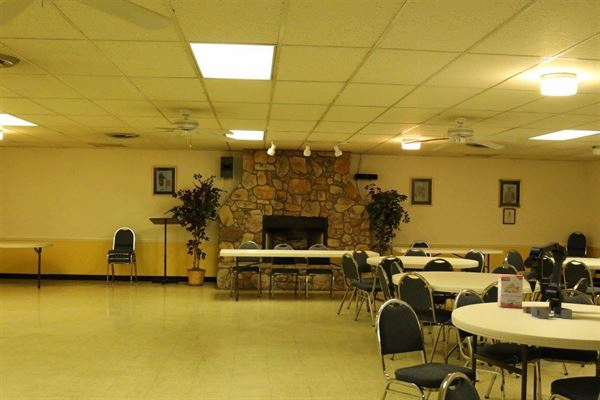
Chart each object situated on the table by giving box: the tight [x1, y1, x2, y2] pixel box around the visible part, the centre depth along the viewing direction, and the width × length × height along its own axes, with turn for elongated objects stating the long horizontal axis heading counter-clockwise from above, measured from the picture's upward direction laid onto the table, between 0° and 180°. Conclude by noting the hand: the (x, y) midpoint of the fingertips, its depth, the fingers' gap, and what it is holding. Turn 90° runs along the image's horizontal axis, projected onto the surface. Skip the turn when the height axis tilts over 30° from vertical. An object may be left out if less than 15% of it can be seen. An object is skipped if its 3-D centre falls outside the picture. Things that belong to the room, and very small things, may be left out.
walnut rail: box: [522, 305, 552, 314], centre depth 339 cm, size 16×4×4 cm, turn 98°
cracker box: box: [497, 273, 524, 309], centre depth 359 cm, size 14×6×21 cm, turn 88°
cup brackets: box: [530, 307, 573, 320], centre depth 324 cm, size 22×8×5 cm, turn 98°
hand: (537, 293), depth 339 cm, fingers open, 9 cm apart
